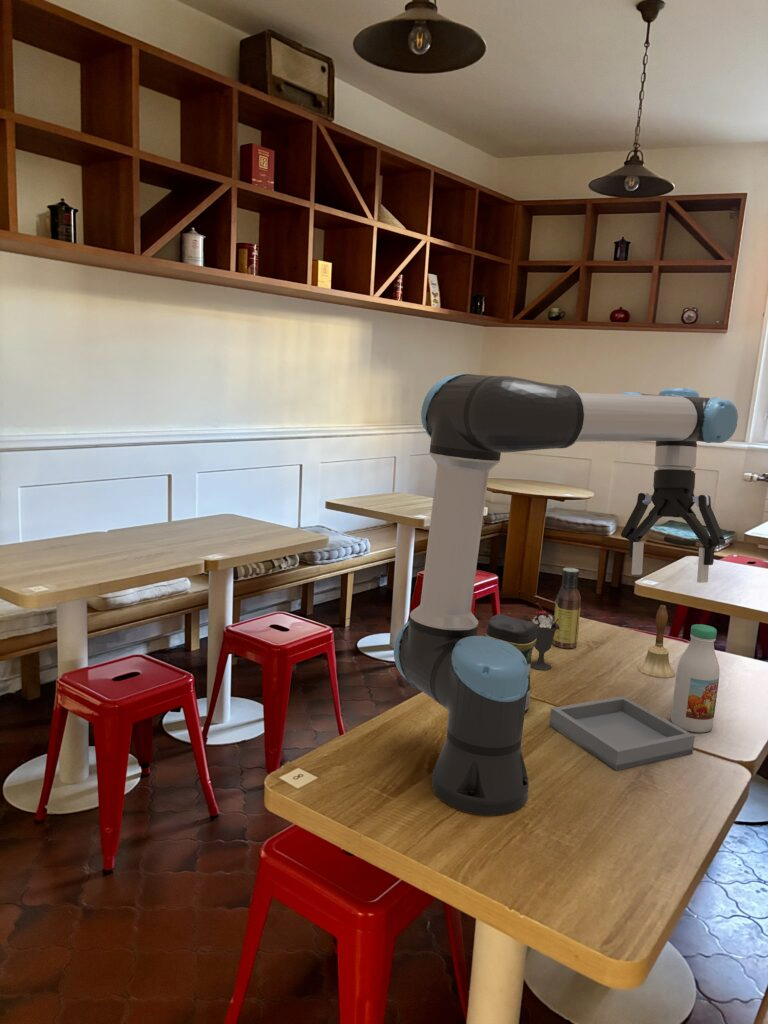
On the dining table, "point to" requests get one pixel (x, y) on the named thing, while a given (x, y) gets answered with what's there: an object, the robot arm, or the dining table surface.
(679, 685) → the milk bottle
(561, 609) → the sauce bottle
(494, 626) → the coffee jar
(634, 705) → the serving tray
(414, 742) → the dining table surface
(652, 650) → the hand bell
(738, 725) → the dining table surface
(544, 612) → the sundae
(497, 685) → the robot arm
